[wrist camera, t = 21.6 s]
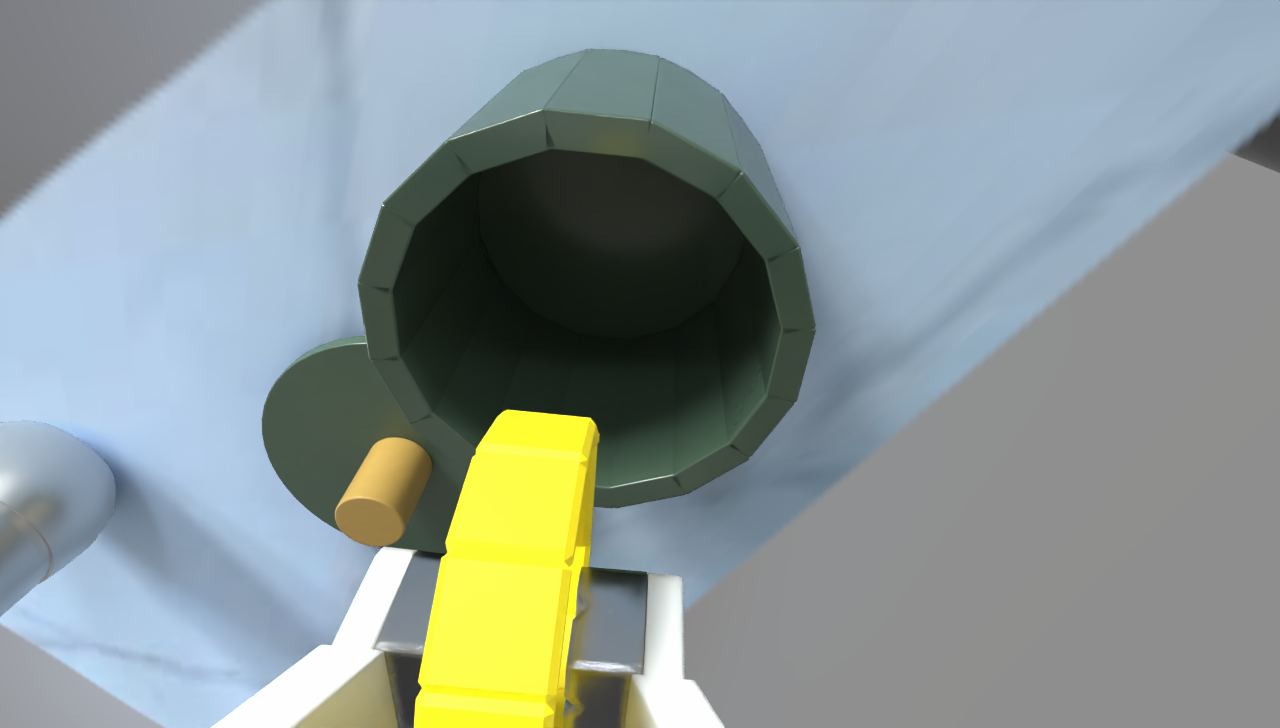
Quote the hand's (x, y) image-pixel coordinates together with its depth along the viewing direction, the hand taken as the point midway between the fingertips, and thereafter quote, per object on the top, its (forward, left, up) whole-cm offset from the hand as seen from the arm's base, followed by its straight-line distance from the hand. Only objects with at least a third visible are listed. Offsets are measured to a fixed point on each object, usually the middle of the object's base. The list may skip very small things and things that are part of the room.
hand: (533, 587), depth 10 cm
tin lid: (+8, +11, -15) cm, 20 cm away
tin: (0, 0, -15) cm, 15 cm away
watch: (0, 0, -2) cm, 2 cm away
